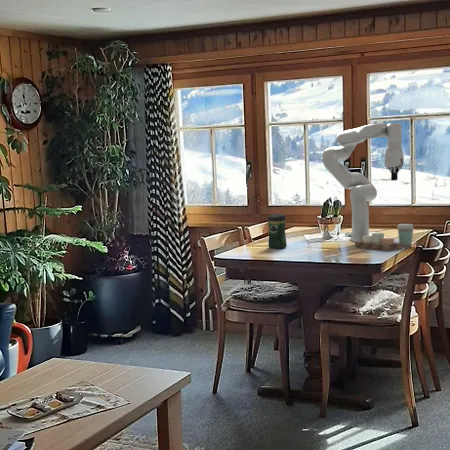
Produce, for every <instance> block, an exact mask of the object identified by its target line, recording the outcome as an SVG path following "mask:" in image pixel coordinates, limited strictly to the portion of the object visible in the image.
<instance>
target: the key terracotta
mask: <svg viewBox="0 0 450 450" xmlns="http://www.w3.org/2000/svg"><path fill="white" fill-rule="evenodd" d="M394 242H395V238H394V237H384V238H382V244H387V245H390V244H394Z"/></svg>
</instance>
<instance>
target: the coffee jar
mask: <svg viewBox="0 0 450 450" xmlns="http://www.w3.org/2000/svg"><path fill="white" fill-rule="evenodd" d="M286 222H287V219H286V215H285V214H282V213H281V214H279V213H275V214H269V215H268V217H267V224H268V248H270V249H276V250H277V249H278V250H279V249H285V248H287V237H286Z"/></svg>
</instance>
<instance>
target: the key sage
mask: <svg viewBox="0 0 450 450" xmlns="http://www.w3.org/2000/svg"><path fill="white" fill-rule="evenodd" d="M371 236H372V243H382V238H385V233H383V232H372V233H371Z"/></svg>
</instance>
